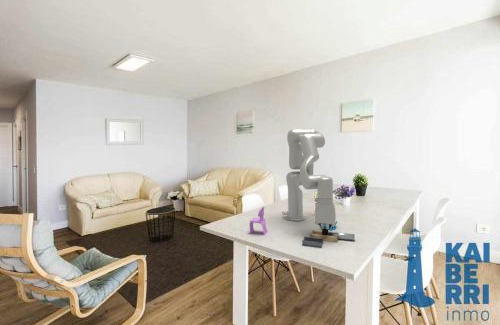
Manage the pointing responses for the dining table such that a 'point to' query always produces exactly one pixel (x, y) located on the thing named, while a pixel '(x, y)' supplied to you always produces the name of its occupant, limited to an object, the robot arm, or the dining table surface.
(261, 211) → the toy chair
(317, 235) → the beam
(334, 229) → the gear
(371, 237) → the dining table surface
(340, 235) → the axle
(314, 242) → the cradle
